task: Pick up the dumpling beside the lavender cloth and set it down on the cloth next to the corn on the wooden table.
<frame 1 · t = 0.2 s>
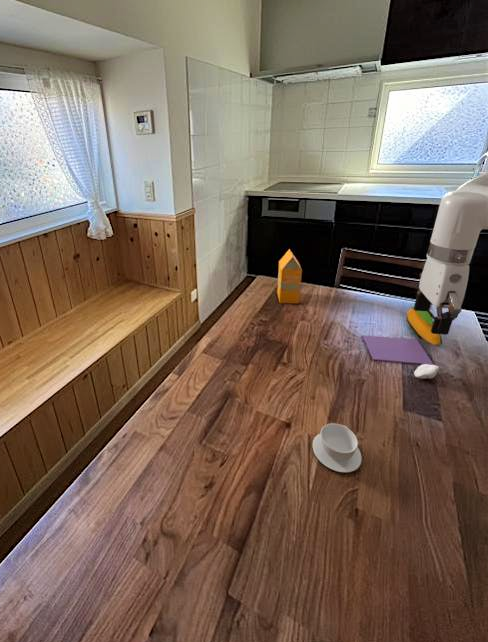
hand: (429, 321, 78), 23 cm above the table, tool pointing down, fingers open, 9 cm apart
cloth: (395, 350, 104), on the table
corn: (423, 335, 111), on the table
teacup: (336, 452, 74), on the table
orange juice: (287, 298, 138), on the table
dumpling: (424, 376, 94), on the table
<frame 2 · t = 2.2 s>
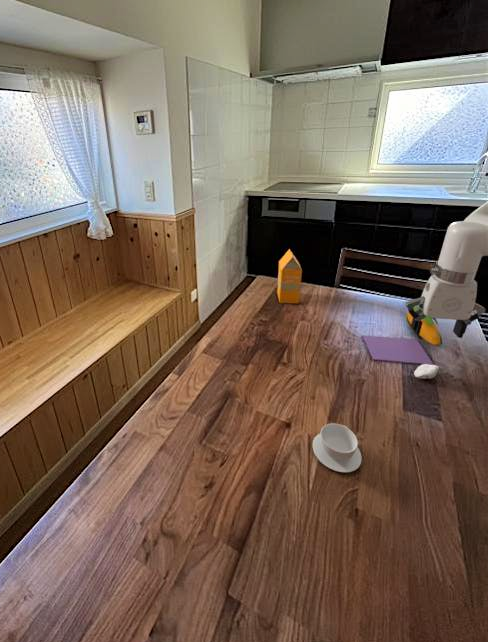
hand: (435, 333, 87), 15 cm above the table, tool pointing down, fingers open, 9 cm apart
nothing on the table moved.
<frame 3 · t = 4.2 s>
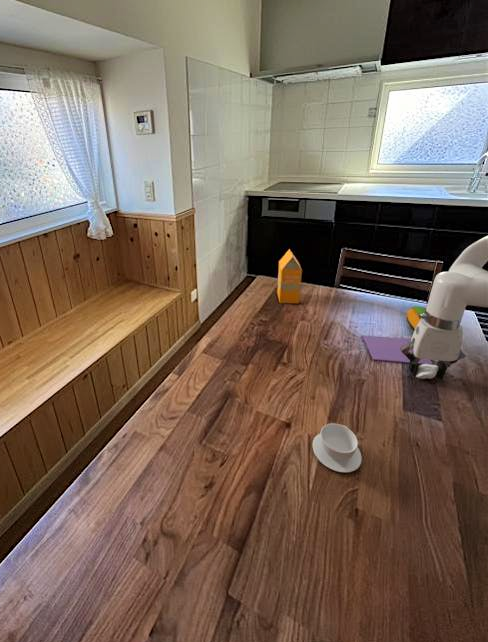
hand: (425, 373, 94), 1 cm above the table, tool pointing down, fingers closed on dumpling, 5 cm apart
dumpling: (424, 376, 94), on the table, touching gripper
everything else where it was.
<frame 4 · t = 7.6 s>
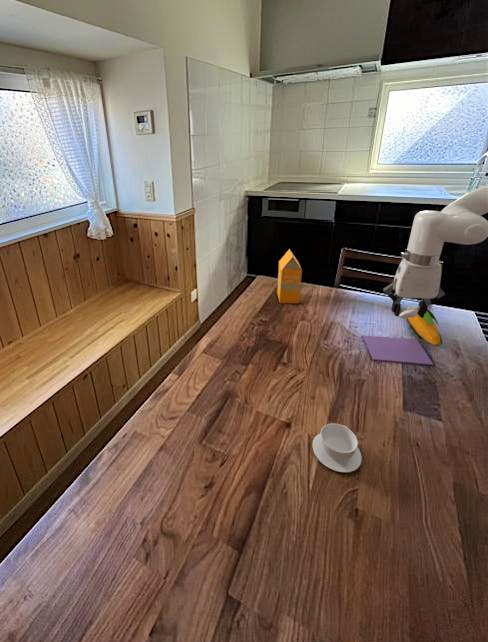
hand: (407, 314, 98), 14 cm above the table, tool pointing down, fingers closed on dumpling, 5 cm apart
dumpling: (406, 316, 98), point 13 cm above the table, touching gripper
everything else where it was.
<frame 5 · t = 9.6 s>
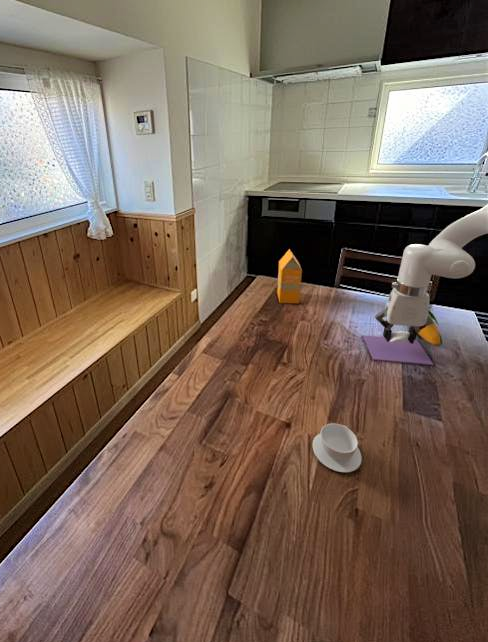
hand: (398, 339, 103), 4 cm above the table, tool pointing down, fingers closed on dumpling, 5 cm apart
dumpling: (397, 342, 103), point 3 cm above the table, touching gripper
everything else where it was.
when the fingers open (1 cm above the table, at t = 10.9 s): dumpling stays where it is, resting on cloth.
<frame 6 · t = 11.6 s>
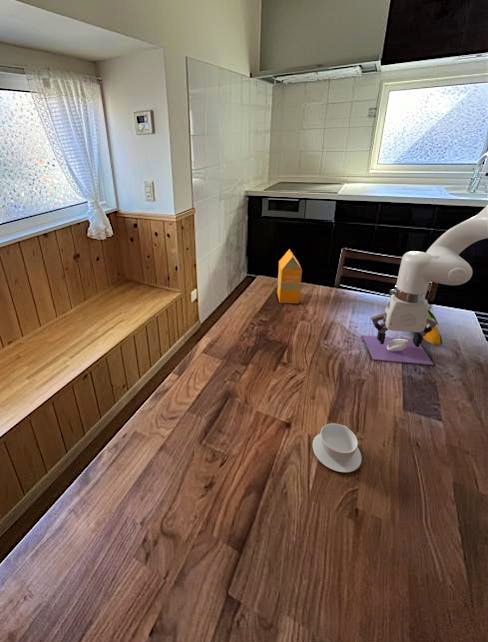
hand: (397, 343, 103), 3 cm above the table, tool pointing down, fingers open, 9 cm apart
dumpling: (396, 349, 104), resting on cloth
everything else where it was.
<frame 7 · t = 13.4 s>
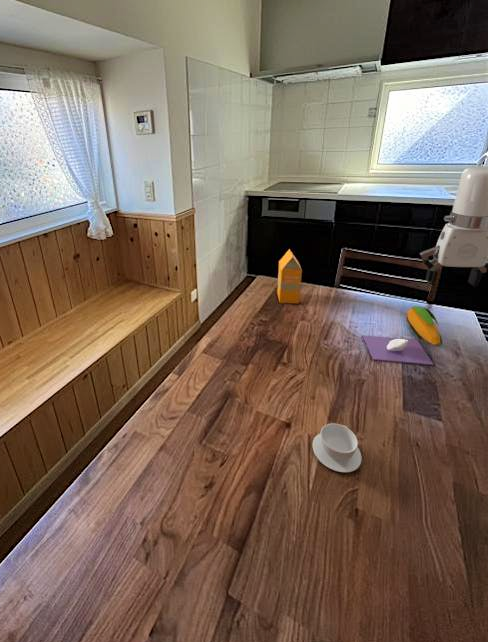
hand: (451, 283, 88), 26 cm above the table, tool pointing down, fingers open, 9 cm apart
nothing on the table moved.
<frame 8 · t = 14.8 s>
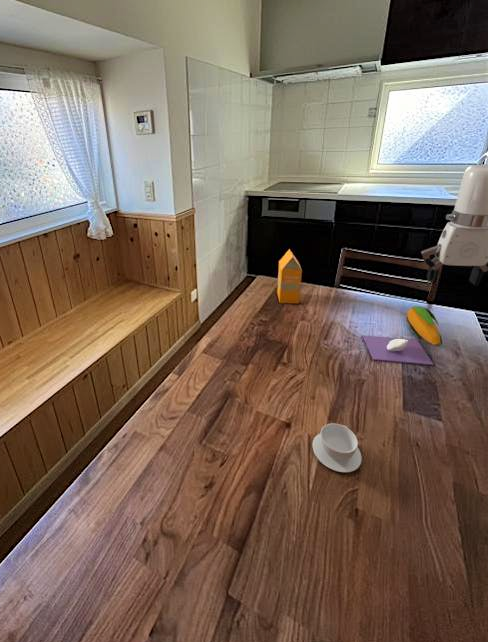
hand: (452, 282, 88), 26 cm above the table, tool pointing down, fingers open, 9 cm apart
nothing on the table moved.
at the end: dumpling inside the target area (0.1 cm from its centre), resting on cloth; dumpling touching cloth; the gripper is holding nothing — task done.
